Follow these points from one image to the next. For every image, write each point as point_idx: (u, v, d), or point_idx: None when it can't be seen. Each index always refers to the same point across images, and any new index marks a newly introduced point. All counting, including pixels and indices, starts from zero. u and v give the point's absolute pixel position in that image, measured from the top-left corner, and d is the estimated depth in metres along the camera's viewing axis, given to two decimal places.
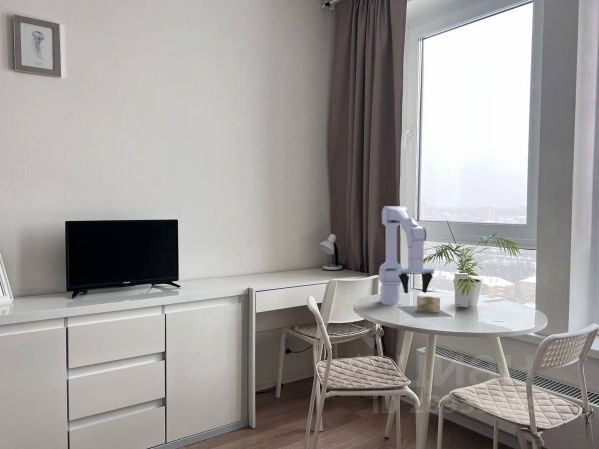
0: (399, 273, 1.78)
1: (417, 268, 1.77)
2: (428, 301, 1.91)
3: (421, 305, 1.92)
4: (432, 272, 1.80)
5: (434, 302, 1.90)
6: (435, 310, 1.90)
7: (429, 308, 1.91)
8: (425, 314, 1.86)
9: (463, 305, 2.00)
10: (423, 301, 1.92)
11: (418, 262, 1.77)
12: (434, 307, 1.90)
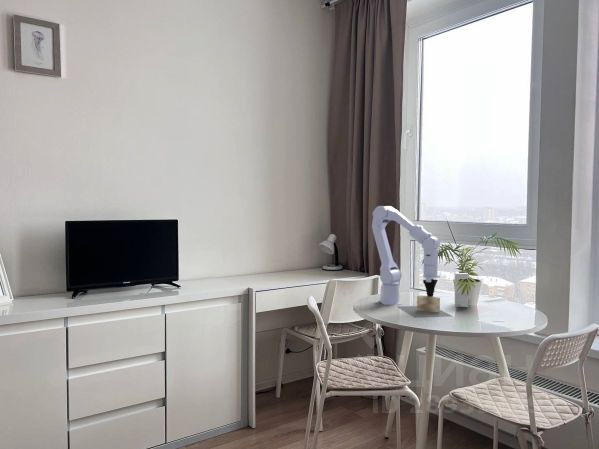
0: (430, 281, 1.90)
1: None
2: (428, 301, 1.91)
3: (421, 305, 1.92)
4: None
5: (434, 302, 1.90)
6: (435, 310, 1.90)
7: (429, 308, 1.91)
8: (425, 314, 1.86)
9: (463, 305, 2.00)
10: (423, 301, 1.92)
11: (437, 268, 1.95)
12: (434, 307, 1.90)
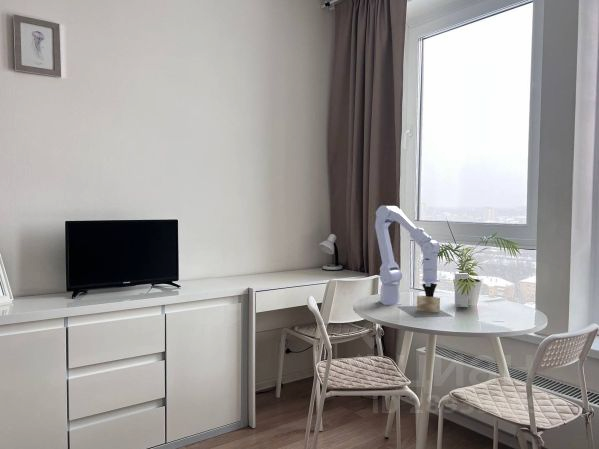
0: (430, 285, 1.88)
1: (436, 278, 1.93)
2: (428, 301, 1.91)
3: (421, 305, 1.92)
4: None
5: (434, 302, 1.90)
6: (435, 310, 1.90)
7: (429, 308, 1.91)
8: (425, 314, 1.86)
9: (463, 305, 2.00)
10: (423, 301, 1.92)
11: (436, 272, 1.94)
12: (434, 307, 1.90)
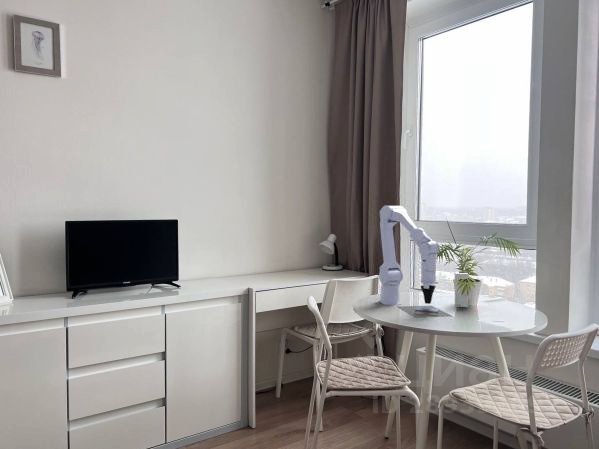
0: (428, 287, 1.83)
1: (435, 280, 1.88)
2: None
3: None
4: None
5: None
6: None
7: None
8: None
9: (463, 305, 2.00)
10: None
11: (435, 274, 1.89)
12: None
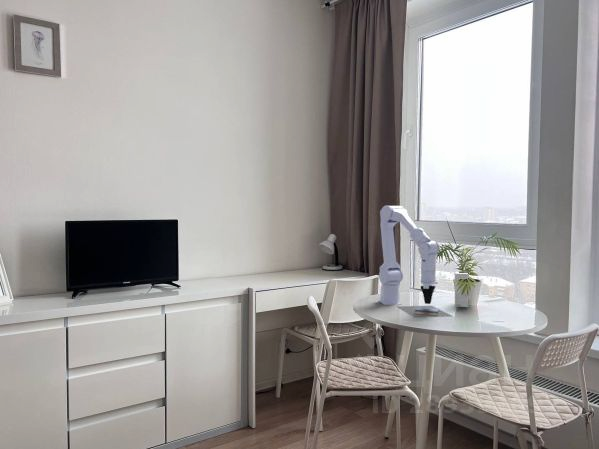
0: (428, 287, 1.83)
1: None
2: None
3: None
4: None
5: None
6: None
7: None
8: None
9: (463, 305, 2.00)
10: None
11: (435, 274, 1.88)
12: None
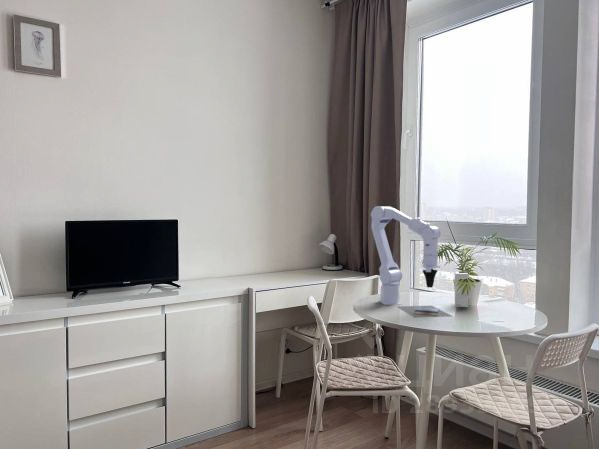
0: (430, 270, 1.87)
1: None
2: None
3: None
4: None
5: None
6: None
7: None
8: None
9: (463, 305, 2.00)
10: None
11: None
12: None
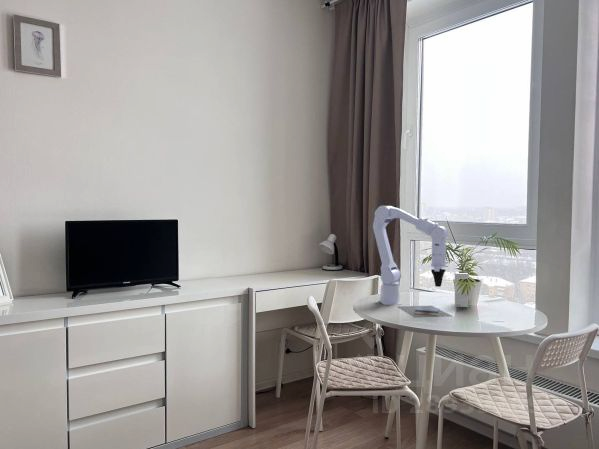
0: (439, 270, 1.89)
1: (445, 263, 1.94)
2: None
3: None
4: None
5: None
6: None
7: None
8: None
9: (463, 305, 2.00)
10: None
11: (445, 257, 1.95)
12: None
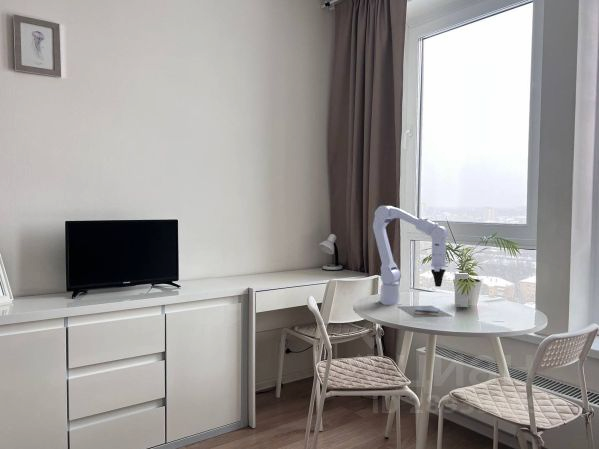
0: (439, 270, 1.89)
1: (445, 263, 1.94)
2: None
3: None
4: None
5: None
6: None
7: None
8: None
9: (463, 305, 2.00)
10: None
11: (445, 257, 1.95)
12: None
